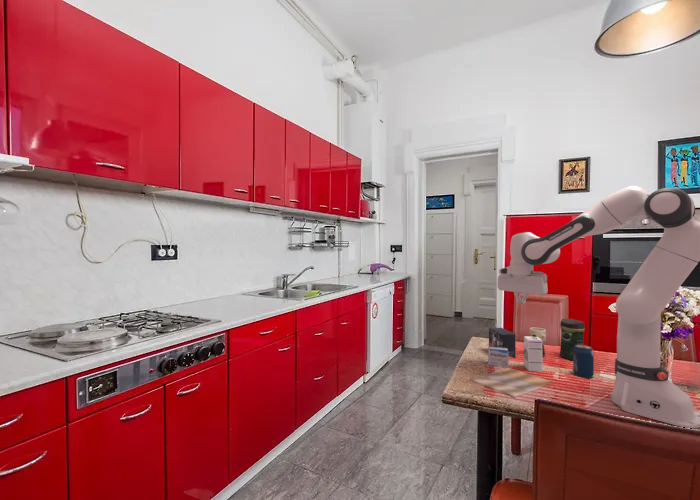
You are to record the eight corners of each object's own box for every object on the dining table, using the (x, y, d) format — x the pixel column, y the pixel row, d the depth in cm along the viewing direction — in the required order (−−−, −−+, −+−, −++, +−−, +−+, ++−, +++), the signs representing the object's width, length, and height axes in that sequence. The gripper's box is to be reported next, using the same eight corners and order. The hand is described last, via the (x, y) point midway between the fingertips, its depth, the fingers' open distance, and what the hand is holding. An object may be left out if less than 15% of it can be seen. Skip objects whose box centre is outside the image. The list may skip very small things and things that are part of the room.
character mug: (523, 352, 169) (523, 326, 169) (537, 351, 170) (537, 326, 170) (538, 359, 158) (538, 331, 158) (552, 358, 159) (552, 331, 159)
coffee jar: (588, 360, 156) (588, 321, 156) (574, 362, 154) (575, 322, 154) (569, 354, 166) (569, 317, 166) (556, 355, 163) (557, 317, 163)
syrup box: (543, 375, 138) (543, 340, 138) (527, 374, 139) (527, 339, 139) (538, 370, 144) (538, 336, 144) (523, 369, 145) (523, 335, 145)
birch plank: (527, 396, 118) (527, 392, 118) (514, 400, 114) (514, 396, 114) (482, 379, 133) (483, 376, 133) (469, 382, 129) (470, 378, 129)
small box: (488, 351, 171) (488, 327, 171) (500, 350, 172) (501, 327, 172) (502, 359, 158) (502, 334, 158) (516, 359, 158) (516, 333, 158)
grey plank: (540, 391, 122) (540, 387, 122) (528, 396, 118) (528, 392, 118) (495, 375, 138) (495, 371, 138) (483, 379, 133) (483, 375, 133)
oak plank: (496, 375, 138) (496, 371, 138) (507, 370, 142) (507, 367, 142) (540, 391, 123) (540, 387, 122) (552, 385, 127) (552, 381, 127)
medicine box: (488, 368, 146) (488, 348, 146) (487, 365, 150) (487, 345, 150) (508, 370, 143) (508, 350, 143) (507, 367, 148) (507, 347, 148)
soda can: (596, 376, 137) (597, 347, 137) (588, 379, 133) (588, 349, 133) (578, 371, 143) (578, 343, 143) (569, 374, 139) (569, 345, 139)
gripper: (551, 271, 135) (550, 306, 135) (503, 269, 152) (503, 299, 152) (542, 272, 131) (542, 307, 131) (495, 269, 149) (495, 300, 149)
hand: (521, 303), depth 142 cm, fingers closed
